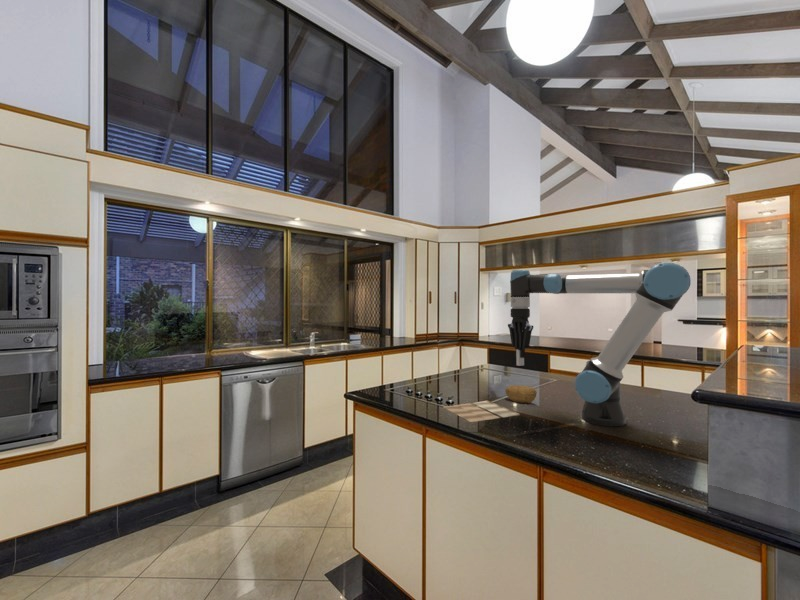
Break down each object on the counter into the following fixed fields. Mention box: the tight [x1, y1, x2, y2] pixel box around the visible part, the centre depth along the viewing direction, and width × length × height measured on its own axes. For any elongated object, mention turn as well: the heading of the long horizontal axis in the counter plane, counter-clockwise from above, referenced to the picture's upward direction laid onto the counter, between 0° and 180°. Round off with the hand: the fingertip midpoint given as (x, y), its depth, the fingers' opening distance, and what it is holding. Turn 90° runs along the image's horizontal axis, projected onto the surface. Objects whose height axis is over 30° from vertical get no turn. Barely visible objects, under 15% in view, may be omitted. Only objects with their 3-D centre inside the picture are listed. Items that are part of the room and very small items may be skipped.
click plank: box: [471, 399, 521, 418], centre depth 157 cm, size 22×8×1 cm, turn 22°
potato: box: [505, 384, 537, 404], centre depth 169 cm, size 10×14×8 cm
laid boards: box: [442, 403, 501, 423], centre depth 152 cm, size 22×14×1 cm, turn 22°
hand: (520, 365), depth 152 cm, fingers closed
